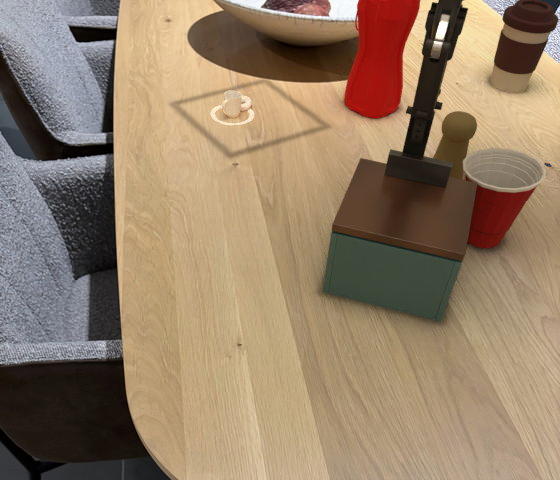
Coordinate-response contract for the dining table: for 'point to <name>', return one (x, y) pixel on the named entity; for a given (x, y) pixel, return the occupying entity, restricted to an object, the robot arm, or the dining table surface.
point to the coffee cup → (521, 43)
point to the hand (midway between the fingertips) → (411, 160)
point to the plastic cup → (499, 191)
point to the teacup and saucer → (234, 107)
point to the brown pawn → (456, 140)
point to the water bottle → (380, 56)
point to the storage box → (389, 276)
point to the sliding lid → (409, 205)
